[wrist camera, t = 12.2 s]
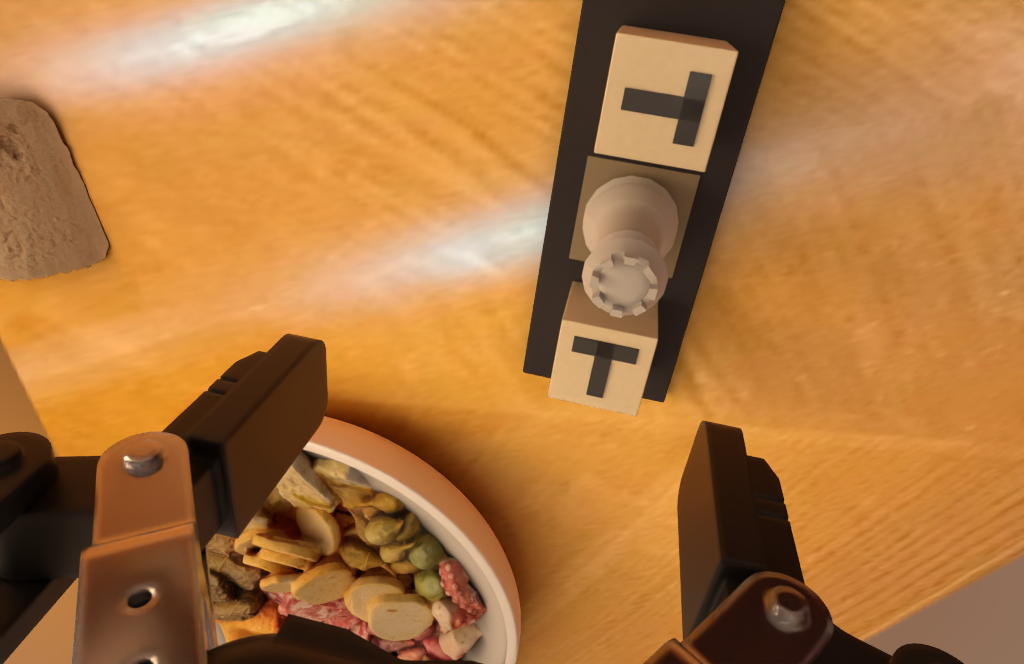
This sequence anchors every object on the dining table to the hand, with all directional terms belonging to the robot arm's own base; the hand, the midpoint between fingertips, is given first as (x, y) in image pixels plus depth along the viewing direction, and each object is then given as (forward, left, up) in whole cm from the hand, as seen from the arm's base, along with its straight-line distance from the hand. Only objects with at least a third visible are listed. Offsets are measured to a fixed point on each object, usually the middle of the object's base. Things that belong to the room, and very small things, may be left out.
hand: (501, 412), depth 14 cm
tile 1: (+8, +3, -20) cm, 21 cm away
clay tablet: (+8, -35, -21) cm, 42 cm away
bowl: (+32, -13, -21) cm, 40 cm away
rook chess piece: (+2, +3, -20) cm, 20 cm away
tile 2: (-4, +3, -20) cm, 20 cm away
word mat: (+2, +3, -21) cm, 21 cm away
